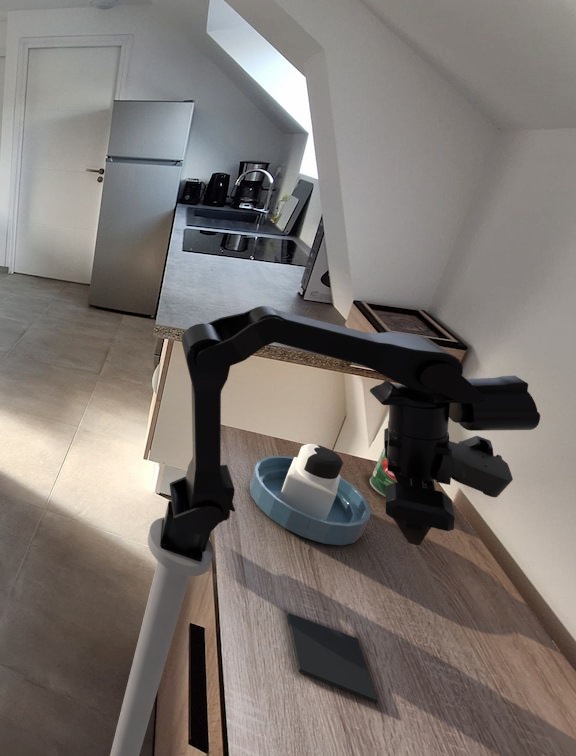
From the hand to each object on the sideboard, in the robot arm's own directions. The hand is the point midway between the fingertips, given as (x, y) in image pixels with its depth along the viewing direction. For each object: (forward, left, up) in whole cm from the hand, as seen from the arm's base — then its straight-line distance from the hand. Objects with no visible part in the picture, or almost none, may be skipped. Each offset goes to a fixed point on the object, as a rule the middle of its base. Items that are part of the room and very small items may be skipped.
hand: (412, 520), depth 65 cm
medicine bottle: (-8, +13, -12) cm, 19 cm away
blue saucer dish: (-8, +13, -13) cm, 20 cm away
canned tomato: (+10, +27, -13) cm, 31 cm away
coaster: (-10, -16, -13) cm, 23 cm away
